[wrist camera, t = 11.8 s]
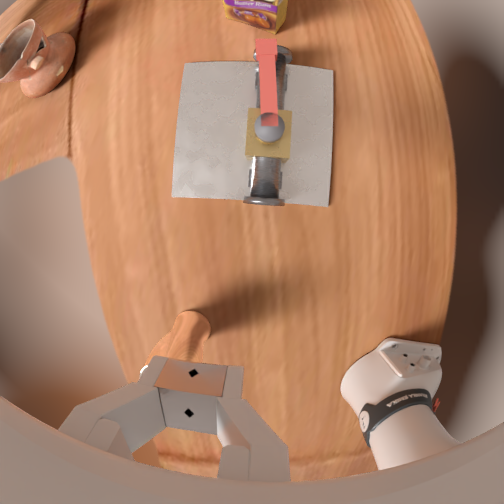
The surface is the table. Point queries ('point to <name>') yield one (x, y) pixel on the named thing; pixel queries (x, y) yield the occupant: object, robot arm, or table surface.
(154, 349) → the beer glass
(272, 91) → the lever
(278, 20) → the candy box
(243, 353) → the table surface
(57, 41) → the ceramic jug
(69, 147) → the table surface
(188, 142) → the valve assembly
